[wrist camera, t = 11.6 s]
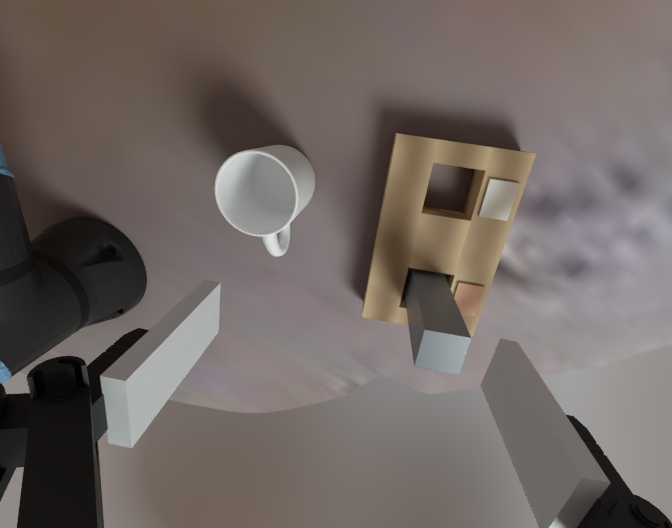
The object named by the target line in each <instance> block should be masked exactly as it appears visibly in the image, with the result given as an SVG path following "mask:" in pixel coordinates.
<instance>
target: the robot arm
mask: <svg viewBox="0 0 672 528" xmlns="http://www.w3.org/2000/svg"><path fill="white" fill-rule="evenodd" d="M13 178H15V176H14V173H13V172H12V171H10V169H9V166H8V163H7V160H6V157H5V154H4V151H3V148H2V145H1V143H0V501H1V499H2V497H3V494H4V492H5V490H6V488H7V486H8V484H9V482H10V480H11V477H12V475H13V473H14V471H15V469H16V467H24V473H23V481H22V489H21V498H20V506H19V515H18V523H17V528H104V520H103V506H102V492H101V478H100V465H99V450H98V442H97V441H98V440H99V439H100V438H101V436H102V435H103V434H104V433H105V432H106V431H107V434H108V443H110V444H115V445H120V446H124V447H129V448H132V447H133V446H134V444H135V443H136V442H137V440H138V439H139V438H140V436H141V435H142V434H143V432H144V431H145V430H146V428H147V427H148V426H149V424H150V423H151V422H152V420H153V419H154V418H155V416H156V415H157V413H158V412H159V411H160V409H161V408H162V407H163V406H164V404H165V403H166V402H167V400H168V399H169V398H170V396H171V395H172V393H173V392H174V391H175V389H176V388H177V387H178V385H179V384H180V383H181V381H182V380H183V379H184V377H185V376H186V375H187V373H188V372H189V371H190V369H191V368H192V367H193V365H194V364H195V363H196V361H197V360H198V359H199V357H200V356H201V355H202V353H203V352H204V351H205V349H206V348H207V347H208V345H209V344H210V343H211V341H212V340H213V339H214V337H215V336H216V335H217V333H218V331H219V306H220V283H219V282H214V281H209V280H204V281H202V282H201V283H200V284H199V285H198V286H197V287H196V288H195V289H194V290H193V291H192V292H190V293H189V294H188V295H187V296H186V297H185V298H184V299H183V300H182V301H181V302H180V303H179V304H177V305H176V306H175V307H174V308H173V309H172V310H171V311H170V312H169V313H168V314H167V315H165V316H164V317H163V318H162V319H161V320H160V321H159V322H158V323H157V324H156V325H155V326H154V327H152V328H151V329H150V330H145V329H140V328H138V329H136V330H133V331H131V332H129V333H127V334H125V335H123V336H122V337H121V338H120V339H119V340H117V341H116V342H115V343H114V345H112V346H110V347H109V348H108V349H107V350H106V352H103V353H102V354H101V355H100V356H99V357H97V358H96V359H95V360H94V361H93V362H91V363H90V364H89V365H88V366H86V363H85V361H84V360H83V359H81V358H79V357H74V356H62V357H56V358H53V359H49V360H46V361H44V362H42V363H40V364H38V365H37V366H36V367H34V368H33V369H32V370H31V371H30V372H29V374H28V376H27V381H28V386H29V390H30V393H28V394H27V393H24V394H6V392H5V389H4V387H3V385H2V383H5V382H7V381H8V380H9V379H10V378H11V377H12V376H13V375H15V374H16V373H17V372H19V371H20V370H22V369H23V368H25V367H26V366H28V365H29V364H30V363H32V362H33V361H35V360H36V359H38V358H39V357H40V356H42V355H43V354H45V353H46V352H48V351H49V350H51V349H52V348H53V347H55V346H56V345H58V344H59V343H61V342H62V341H63V340H65V339H66V338H68V337H69V336H71V335H72V334H73V333H75V332H76V331H78V330H79V329H81V328H83V327H86V326H90V325H93V324H97V323H100V322H104V321H107V320H111V319H114V318H117V317H119V316H121V315H123V314H125V313H126V312H128V311H129V310H130V309H132V308H133V307H135V306H136V305H137V304H138V303H139V302H140V301H141V299H142V297H143V296H144V293H145V290H146V284H147V277H146V270H145V267H144V264H143V261H142V259H141V257H140V255H139V253H138V251H137V250H136V248H135V247H134V246H133V244H132V243H131V242H130V241H129V240H128V239H127V238H126V237H125V236H124V235H123V234H122V233H121V232H119V231H118V230H117V229H115V228H114V227H112V226H110V225H108V224H106V223H104V222H102V221H99V220H96V219H92V218H85V217H78V218H72V219H68V220H65V221H62V222H59V223H56V224H54V225H52V226H50V227H48V228H47V229H46V230H44V231H43V233H42V234H40V235H39V236H37V237H36V238H35V239H34V240H32V241H31V242H30V239H29V236H28V232H27V228H26V225H25V221H24V217H23V214H22V210H21V206H20V202H19V199H18V195H17V191H16V188H15V184H14V180H13ZM481 387H482V390H483V392H484V395H485V397H486V400H487V402H488V404H489V407H490V409H491V412H492V414H493V416H494V419H495V421H496V424H497V426H498V429H499V431H500V433H501V436H502V439H503V441H504V443H505V446H506V448H507V451H508V453H509V456H510V458H511V460H512V463H513V465H514V468H515V470H516V472H517V475H518V477H519V480H520V482H521V485H522V487H523V490H524V492H525V494H526V496H527V499H528V502H529V504H530V507H531V509H532V511H533V514H534V516H535V518H536V521H537V524H538V526H539V528H672V523H671V522H670V521H669V519H668V518H667V517H666V516H665V515H664V514H663V513H662V512H661V511H660V510H659V509H658V508H656V507H655V506H654V505H652V504H651V503H650V502H648V501H647V500H645V499H643V498H641V497H639V496H637V495H633V494H632V492H631V491H630V489H629V488H628V487H627V485H626V484H625V482H624V481H623V479H622V478H621V476H620V475H619V474H618V472H617V471H616V469H615V468H614V467H613V465H612V464H611V462H610V461H609V459H608V458H607V456H606V455H604V452H603V451H602V449H601V448H600V447H599V445H598V444H596V441H595V439H594V438H593V437H592V435H591V434H590V432H589V431H588V430H587V428H586V427H584V426H583V425H582V424H581V423H580V422H579V421H578V420H577V419H576V418H575V417H574V416H569V415H565V413H564V412H563V410H562V409H561V407H560V406H559V404H558V403H557V401H556V400H555V399H554V397H553V395H552V394H551V392H550V391H549V389H548V388H547V386H546V385H545V383H544V382H543V380H542V379H541V377H540V375H539V374H538V372H537V371H536V369H535V368H534V366H533V365H532V363H531V362H530V360H529V359H528V357H527V356H526V354H525V353H524V351H523V350H522V348H521V347H520V345H519V344H518V342H514V341H509V340H504V339H500V341H499V344H498V346H497V348H496V351H495V353H494V355H493V358H492V360H491V362H490V365H489V367H488V369H487V372H486V374H485V376H484V379H483V381H482V383H481Z"/></svg>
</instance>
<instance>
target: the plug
mask: <svg viewBox="0 0 672 528" xmlns="http://www.w3.org/2000/svg"><path fill="white" fill-rule="evenodd" d="M404 296H405V304H406V311H407V318H408V325H409V332H410V339H411V346H412V353H413V360H414V367H419V368H424V369H430V370H435V371H440V372H446V373H451V374H456V375H459V373H460V370H461V367H462V364H463V361H464V358H465V355H466V352H467V349H468V347H469V344H470V341H471V336H470V334H469V331H468V329H467V327H466V324H465V322H464V320H463V317H462V315H461V313H460V310H459V308H458V306H457V303H456V301H455V299H454V296H453V294H452V292H451V289H450V287H449V284H448V282H447V280H446V277H445V275H444V273H438V272H432V271H426V270H420V269H414V268H408V272H407V276H406V281H405V285H404Z"/></svg>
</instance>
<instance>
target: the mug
mask: <svg viewBox="0 0 672 528" xmlns="http://www.w3.org/2000/svg"><path fill="white" fill-rule="evenodd" d="M314 189H315V174H314V171H313V168H312V166H311V164H310V162H309V161H308V159H307V158H306V157H305V156H304V155H303V154H302V153H301V152H299V151H298V150H296V149H294V148H292V147H289V146H285V145H272V146H266V147H261V148H255V149H250V150H245V151H241V152H238V153H236V154H234V155H232V156H230V157H229V158H228V159H227V160H226V161H225V162H224V163H223V164H222V165H221V167H220V169H219V171H218V173H217V176H216V180H215V198H216V201H217V204H218V207H219V209H220V211H221V213H222V214H223V216H224V217H225V219H226V220H227V221H228V222H229V223H230V224H231V225H232V226H234V227H235V228H236V229H238V230H240V231H241V232H244V233H246V234H249V235H253V236H262V239H263V242H264V244H265V247H266V248H267V250H268V251H269V253H270V254H272V255H273V256H282V255H283V254H284V253H285V252H286V251H287V249H288V246H289V242H290V222H291V221H292V220H293V219H294V218H295V217H296V216H297V215H298V214H299V213H300V212H301V211H302V209H303V208H304V207H305V206H306V205H307V204H308V203H309V201H310V199H311V198H312V196H313V193H314ZM278 232H279V240H277V235H276V233H278Z"/></svg>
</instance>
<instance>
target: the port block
mask: <svg viewBox="0 0 672 528" xmlns="http://www.w3.org/2000/svg"><path fill="white" fill-rule="evenodd" d="M535 156H536V154H534V153H529V152H524V151H517V150H511V149H504V148H497V147H490V146H483V145H477V144H470V143H463V142H456V141H449V140H442V139H436V138H429V137H422V136H415V135H408V134H401V133H395V136H394V141H393V147H392V152H391V157H390V163H389V168H388V173H387V179H386V184H385V189H384V195H383V200H382V205H381V210H380V216H379V221H378V226H377V232H376V237H375V242H374V248H373V253H372V258H371V264H370V269H369V274H368V280H367V285H366V290H365V295H364V301H363V310H362V317H365V318H371V319H377V320H382V321H388V322H393V323H399V324H404V325H408V318H407V311H406V304H405V296H404V294H403V289H404V285H405V281H406V276H407V272H408V268H414V269H420V270H426V271H432V272H438V273H444V274H445V277H446V280H447V282H448V284H449V287H450V289H451V292H452V294H453V296H454V299H455V301H456V303H457V306H458V308H459V310H460V313H461V315H462V317H463V320H464V322H465V324H466V327H467V329H468V331H469V334H470V336H471V337H473V335H474V332H475V329H476V326H477V323H478V320H479V318H480V315H481V312H482V309H483V306H484V303H485V300H486V297H487V294H488V292H489V289H490V286H491V283H492V280H493V277H494V274H495V271H496V268H497V266H498V263H499V260H500V257H501V254H502V251H503V248H504V245H505V242H506V240H507V237H508V234H509V231H510V228H511V225H512V222H513V219H514V216H515V214H516V211H517V208H518V205H519V202H520V199H521V196H522V193H523V190H524V188H525V185H526V182H527V179H528V176H529V173H530V170H531V167H532V164H533V162H534V159H535ZM433 163H438V164H445V165H451V166H458V167H464V168H471V169H475V171H474V174H473V178H472V182H471V185H470V189H469V192H468V196H467V199H466V203H465V206H464V210H463V212H457V211H451V210H444V209H438V208H432V207H425V206H423V204H424V200H425V196H426V192H427V188H428V183H429V179H430V175H431V171H432V166H433Z"/></svg>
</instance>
